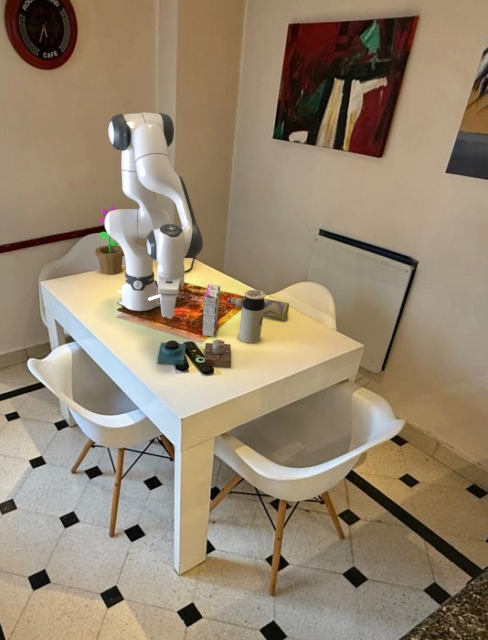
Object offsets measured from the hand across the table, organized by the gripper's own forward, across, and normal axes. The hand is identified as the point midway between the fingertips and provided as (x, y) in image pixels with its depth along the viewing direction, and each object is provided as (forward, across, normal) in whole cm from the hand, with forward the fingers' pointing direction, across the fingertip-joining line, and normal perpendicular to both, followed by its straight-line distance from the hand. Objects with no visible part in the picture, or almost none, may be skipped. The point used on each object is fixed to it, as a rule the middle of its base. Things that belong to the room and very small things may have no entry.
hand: (170, 316), depth 156 cm
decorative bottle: (+15, -36, +34) cm, 52 cm away
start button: (+11, +2, +1) cm, 11 cm away
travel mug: (+15, -14, +29) cm, 35 cm away
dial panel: (+14, +2, +17) cm, 22 cm away
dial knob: (+11, +2, +17) cm, 21 cm away
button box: (+14, +2, +1) cm, 15 cm away
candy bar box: (+15, -19, +14) cm, 28 cm away
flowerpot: (+16, -75, -35) cm, 85 cm away
